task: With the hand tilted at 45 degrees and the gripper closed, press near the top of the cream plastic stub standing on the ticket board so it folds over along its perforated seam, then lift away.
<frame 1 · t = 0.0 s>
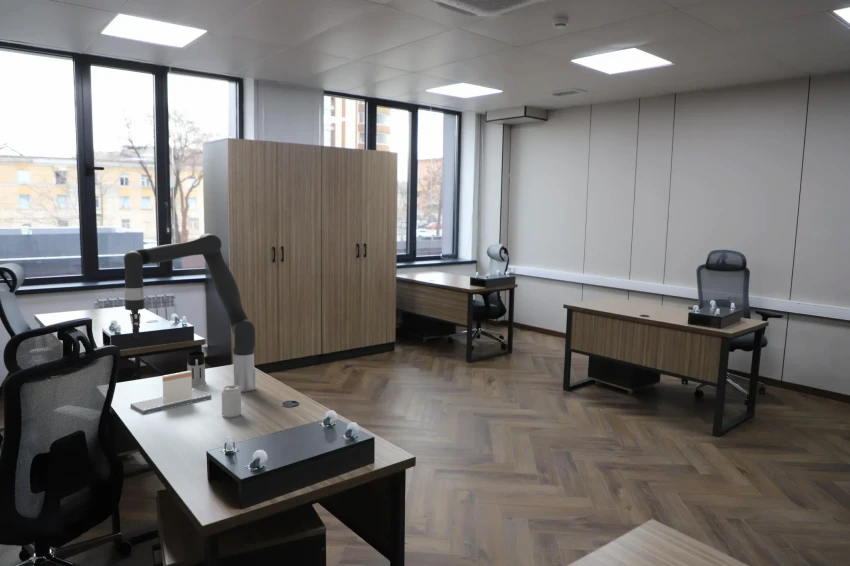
hand: (135, 335, 255), 29 cm above the table, tool pointing down, fingers open, 8 cm apart
glass holder: (196, 385, 284), on the table
can: (231, 415, 245), on the table
ticket stub: (177, 387, 254), point 8 cm above the table, hinge at 0.0°
ticket board: (178, 405, 255), on the table
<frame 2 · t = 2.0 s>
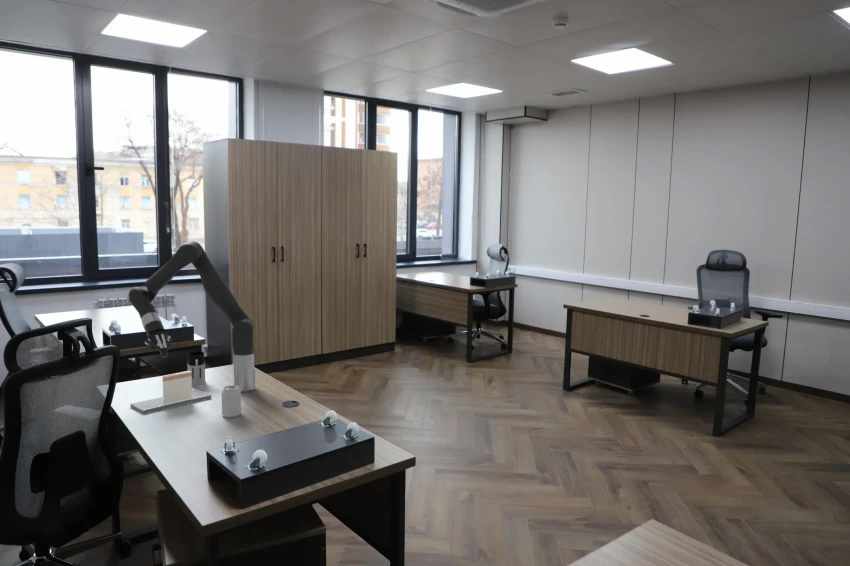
hand: (166, 356, 259), 20 cm above the table, tool tilted 45°, fingers closed
nothing on the table moved.
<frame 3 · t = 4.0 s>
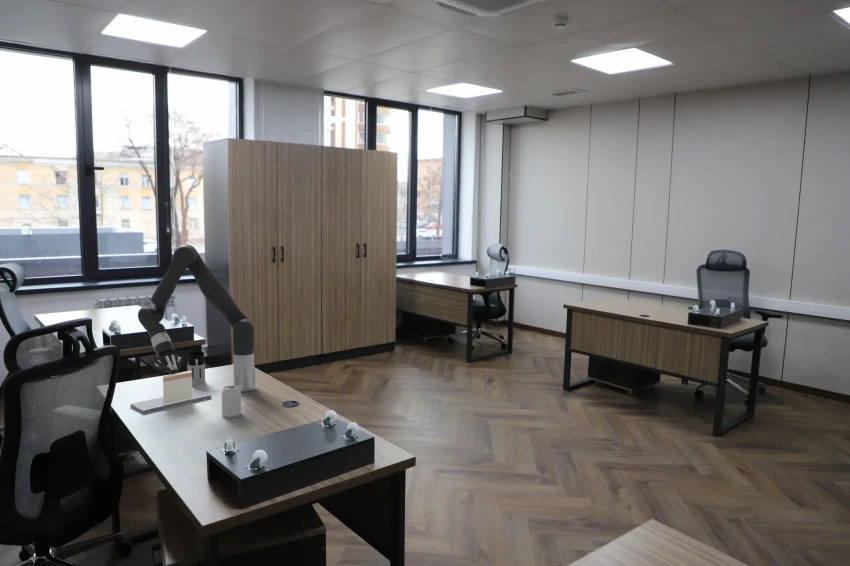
hand: (176, 378, 254), 12 cm above the table, tool tilted 45°, fingers closed
ticket stub: (177, 387, 254), point 8 cm above the table, hinge at 2.0°, touching gripper
everything else where it was.
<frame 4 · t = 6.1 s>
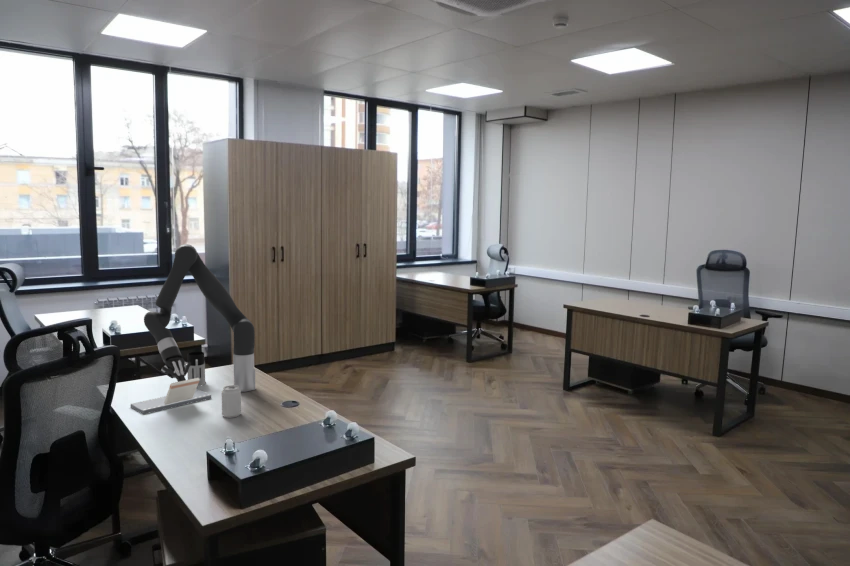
hand: (183, 384, 250), 10 cm above the table, tool tilted 45°, fingers closed
ticket stub: (181, 391, 252), point 7 cm above the table, hinge at 34.9°, touching gripper
everything else where it was.
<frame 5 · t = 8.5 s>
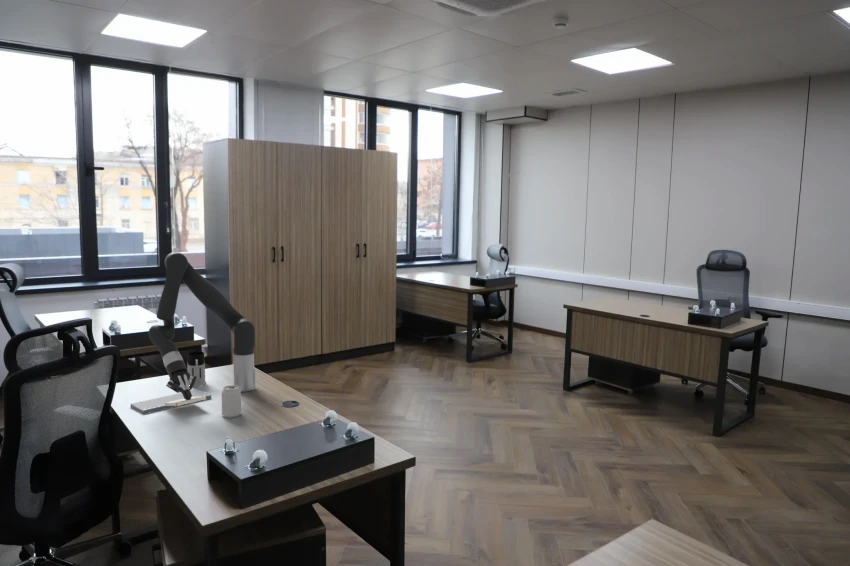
hand: (189, 398, 248), 5 cm above the table, tool tilted 45°, fingers closed
ticket stub: (185, 401, 250), point 4 cm above the table, hinge at 76.7°, touching gripper
everything else where it was.
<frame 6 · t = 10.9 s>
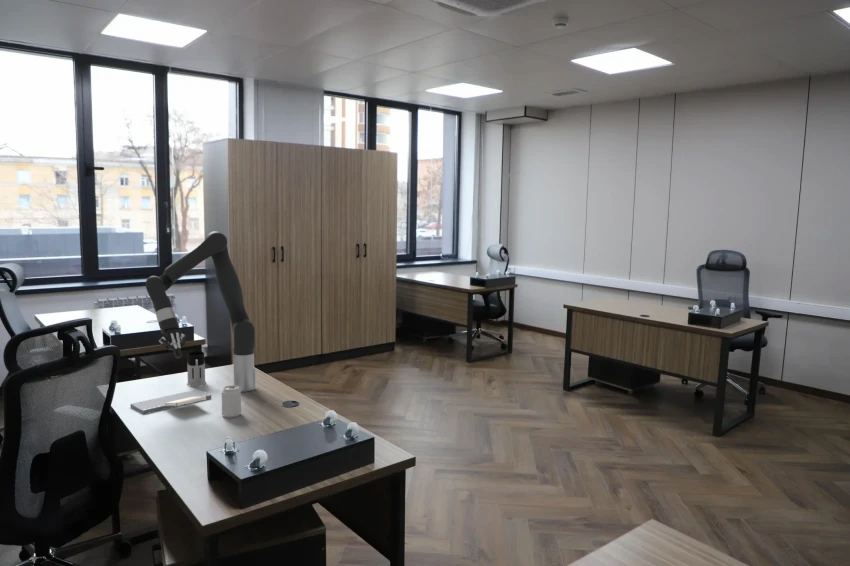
hand: (179, 357, 255), 20 cm above the table, tool tilted 30°, fingers closed
ticket stub: (185, 401, 250), point 4 cm above the table, hinge at 76.7°
everything else where it was.
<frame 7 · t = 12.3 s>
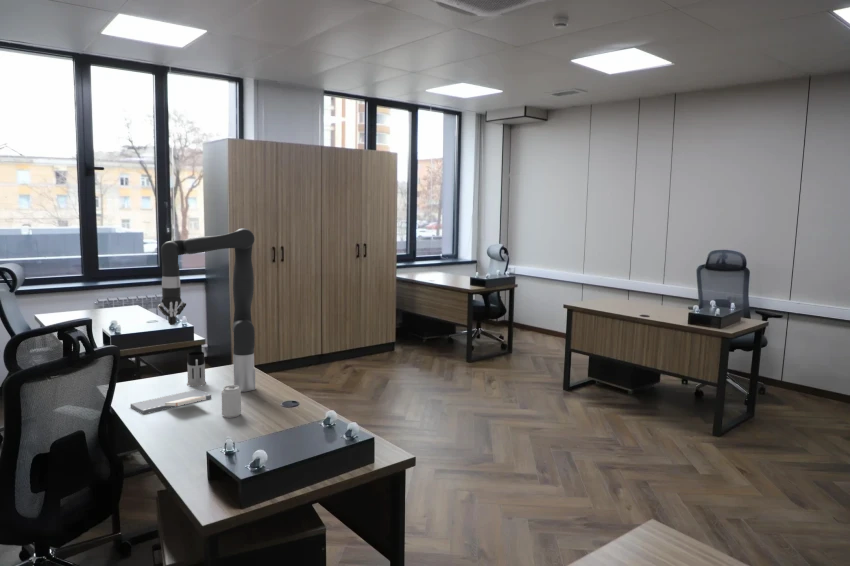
hand: (172, 324, 266), 32 cm above the table, tool pointing down, fingers closed
nothing on the table moved.
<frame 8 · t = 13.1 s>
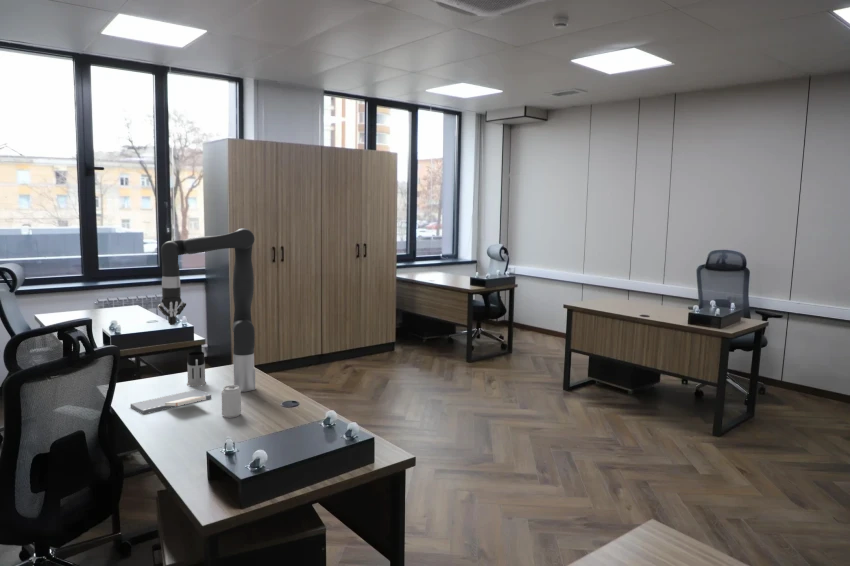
hand: (172, 324, 266), 32 cm above the table, tool pointing down, fingers closed
nothing on the table moved.
at the end: ticket stub at +77° (first picture: +0°); can moved 0.2 cm from its start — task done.
